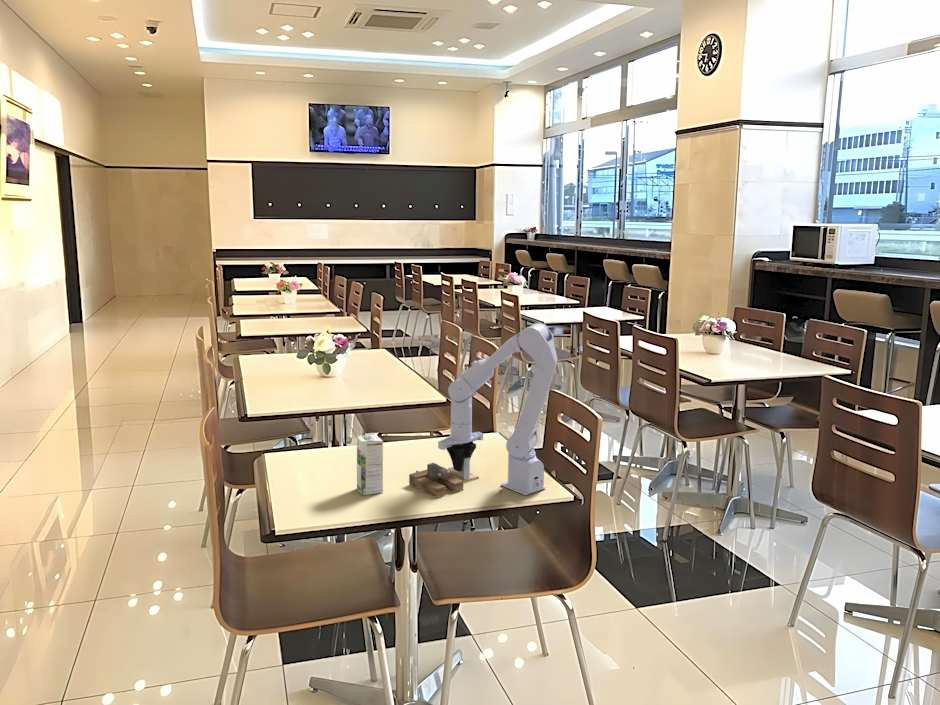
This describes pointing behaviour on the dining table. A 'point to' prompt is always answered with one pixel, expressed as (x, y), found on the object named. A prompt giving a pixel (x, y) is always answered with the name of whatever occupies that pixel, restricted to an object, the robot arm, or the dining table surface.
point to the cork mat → (471, 477)
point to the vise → (435, 481)
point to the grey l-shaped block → (462, 469)
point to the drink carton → (369, 464)
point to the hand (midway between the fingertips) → (460, 469)
